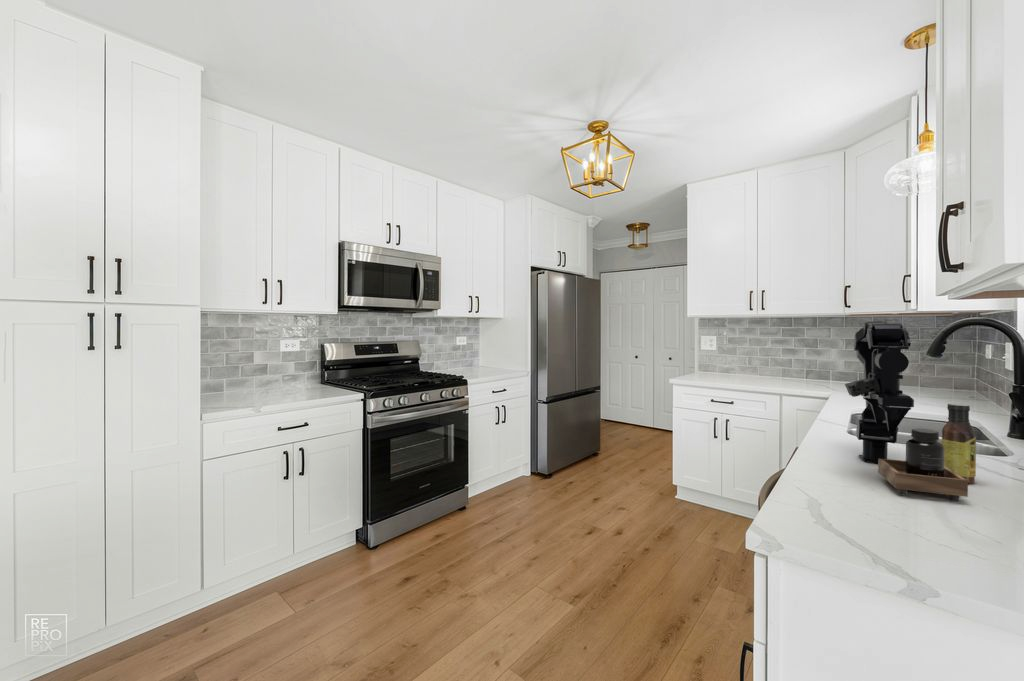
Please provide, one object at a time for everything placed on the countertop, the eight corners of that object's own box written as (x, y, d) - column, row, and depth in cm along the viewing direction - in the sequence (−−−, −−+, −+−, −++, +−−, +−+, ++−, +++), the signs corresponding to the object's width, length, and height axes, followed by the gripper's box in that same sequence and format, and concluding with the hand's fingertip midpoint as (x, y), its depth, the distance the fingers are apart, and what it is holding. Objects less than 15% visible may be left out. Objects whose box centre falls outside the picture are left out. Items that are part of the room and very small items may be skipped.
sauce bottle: (978, 486, 109) (980, 407, 108) (943, 481, 112) (944, 405, 112) (972, 478, 114) (973, 403, 113) (938, 474, 118) (940, 401, 117)
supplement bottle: (899, 473, 110) (900, 426, 110) (933, 475, 108) (933, 428, 108) (915, 482, 104) (915, 432, 103) (951, 485, 102) (951, 434, 101)
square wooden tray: (878, 478, 115) (878, 458, 115) (941, 485, 109) (941, 464, 109) (896, 496, 103) (896, 473, 103) (967, 504, 98) (967, 480, 98)
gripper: (839, 366, 128) (839, 418, 128) (858, 372, 111) (858, 433, 112) (887, 367, 123) (886, 421, 124) (915, 374, 106) (914, 437, 107)
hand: (884, 427), depth 117 cm, fingers open, 9 cm apart
